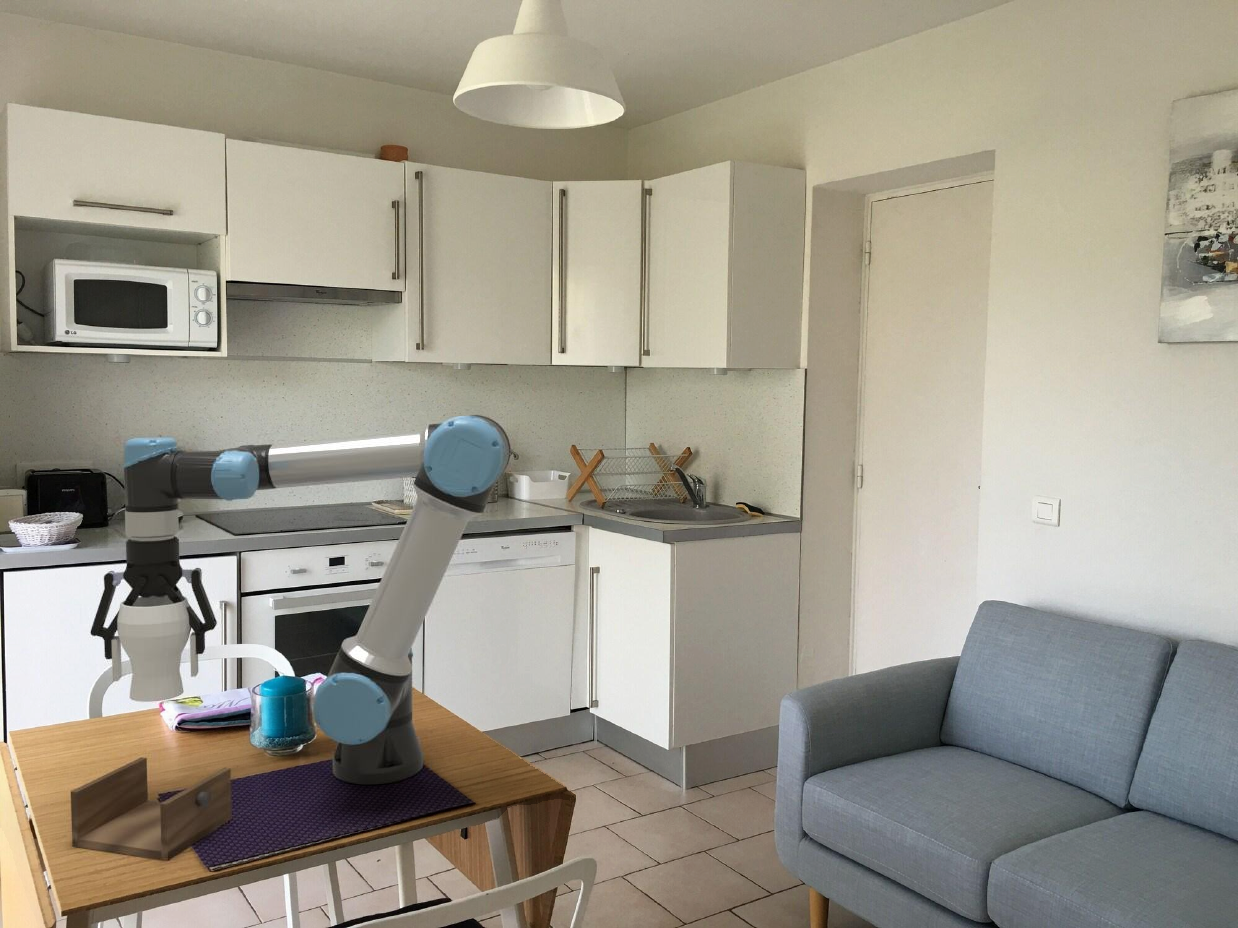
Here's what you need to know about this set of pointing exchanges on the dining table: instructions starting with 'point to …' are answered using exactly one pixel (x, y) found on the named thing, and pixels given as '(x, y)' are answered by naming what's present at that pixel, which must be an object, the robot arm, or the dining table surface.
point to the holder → (147, 813)
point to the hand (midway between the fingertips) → (156, 676)
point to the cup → (154, 646)
